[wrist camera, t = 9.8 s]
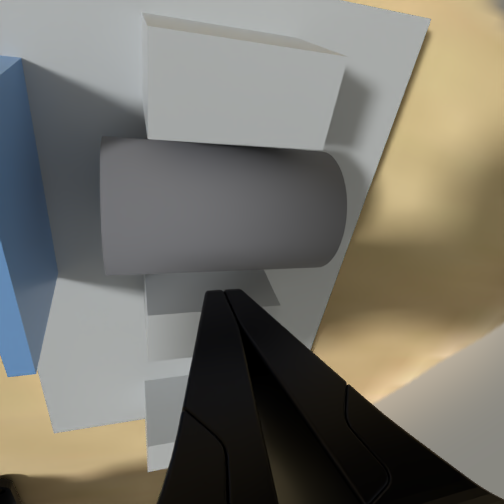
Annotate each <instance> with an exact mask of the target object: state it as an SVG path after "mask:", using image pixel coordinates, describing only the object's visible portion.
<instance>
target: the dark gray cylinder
mask: <svg viewBox="0 0 504 504" xmlns="http://www.w3.org/2000/svg"><path fill="white" fill-rule="evenodd" d="M100 211H101V233H102V249H103V260H104V268H105V273H106V276H110V275H136V274H162V273H188V272H214V271H240V270H266V269H292V268H317V267H323V266H325V265H326V264H328V263H329V262H330V261H331V260H332V259H333V257H334V256H335V254H336V253H337V251H338V249H339V246H340V244H341V241H342V238H343V235H344V230H345V225H346V218H347V193H346V186H345V182H344V177H343V174H342V171H341V169H340V167H339V165H338V163H337V162H336V160H335V159H334V158H333V157H332V156H331V155H330V154H328V153H326V152H322V151H308V150H294V149H280V148H266V147H252V146H238V145H224V144H210V143H196V142H181V141H167V140H152V139H139V138H125V137H111V136H102V138H101V147H100Z"/></svg>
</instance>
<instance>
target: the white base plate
mask: <svg viewBox="0 0 504 504" xmlns="http://www.w3.org/2000/svg"><path fill="white" fill-rule="evenodd" d="M430 21H431V19H429V18H424V17H419V16H414V15H409V14H405V13H400V12H395V11H390V10H385V9H380V8H376V7H371V6H366V5H361V4H356V3H351V2H347V1H342V0H0V355H1V358H2V361H3V364H4V367H5V370H6V373H7V376H8V377H13V376H22V375H31V374H36V372H37V370H38V374H39V377H40V381H41V385H42V389H43V393H44V397H45V401H46V404H47V408H48V412H49V416H50V420H51V424H52V428H53V431H54V433H59V432H65V431H71V430H78V429H84V428H90V427H96V426H103V425H109V424H115V423H121V422H128V421H134V420H140V419H145V425H146V446H147V467H148V472H151V471H156V470H161V469H166V468H168V466H169V463H170V460H171V456H172V452H173V447H174V443H175V439H176V435H177V430H178V425H179V420H180V415H181V412H182V406H183V401H184V396H185V391H186V386H187V381H188V376H189V371H190V366H191V361H192V356H193V351H194V346H195V341H196V336H197V331H198V325H199V320H200V315H201V310H202V305H203V300H204V295H205V292H206V291H208V290H222V291H224V290H225V289H241V290H243V291H244V292H245V293H246V294H247V295H249V296H250V297H251V298H252V299H253V300H254V301H255V302H256V303H258V304H259V305H260V306H261V307H262V308H263V309H264V310H265V311H267V312H268V313H269V314H270V315H271V316H272V317H273V318H275V319H276V320H277V321H278V322H279V323H280V324H281V325H282V326H284V327H285V328H286V329H287V330H288V331H289V332H290V333H291V334H293V335H294V336H295V337H296V338H297V339H298V340H299V341H301V342H302V343H303V344H304V345H305V346H306V347H307V348H308V349H311V347H312V344H313V341H314V338H315V336H316V333H317V330H318V327H319V325H320V322H321V319H322V317H323V314H324V311H325V308H326V306H327V303H328V300H329V297H330V295H331V292H332V289H333V286H334V284H335V281H336V278H337V275H338V273H339V270H340V267H341V265H342V262H343V259H344V256H345V254H346V251H347V248H348V245H349V243H350V240H351V237H352V234H353V232H354V229H355V226H356V223H357V221H358V218H359V215H360V213H361V210H362V207H363V204H364V202H365V199H366V196H367V193H368V191H369V188H370V185H371V182H372V180H373V177H374V174H375V171H376V169H377V166H378V163H379V161H380V158H381V155H382V152H383V150H384V147H385V144H386V141H387V139H388V136H389V133H390V130H391V128H392V125H393V122H394V119H395V117H396V114H397V111H398V108H399V106H400V103H401V100H402V98H403V95H404V92H405V89H406V87H407V84H408V81H409V78H410V76H411V73H412V70H413V67H414V65H415V62H416V59H417V56H418V54H419V51H420V48H421V46H422V43H423V40H424V37H425V35H426V32H427V29H428V26H429V24H430ZM102 136H111V137H125V138H139V139H152V140H167V141H181V142H196V143H210V144H224V145H238V146H252V147H266V148H280V149H294V150H308V151H322V152H326V153H328V154H330V155H331V156H332V157H333V158H334V159H335V160H336V162H337V163H338V165H339V167H340V169H341V171H342V174H343V177H344V182H345V186H346V193H347V218H346V225H345V230H344V235H343V238H342V241H341V244H340V246H339V249H338V251H337V253H336V254H335V256H334V257H333V259H332V260H331V261H330V262H329V263H328V264H326V265H325V266H323V267H317V268H292V269H266V270H240V271H214V272H188V273H162V274H136V275H110V276H106V273H105V268H104V260H103V249H102V233H101V211H100V147H101V138H102Z"/></svg>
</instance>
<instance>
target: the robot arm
mask: <svg viewBox="0 0 504 504" xmlns="http://www.w3.org/2000/svg"><path fill="white" fill-rule="evenodd" d="M0 504H22V503H21V501H20V498H19V496H18V494H17V491H16V489H15V487H14V484H13V482H12V481H11V480H9V479H0ZM156 504H504V499H502V498H500V497H498V496H496V495H494V494H492V493H490V492H489V491H487V490H485V489H484V488H482V487H481V486H479V485H478V484H476V483H475V482H473V481H472V480H470V479H469V478H468V477H466V476H465V475H464V474H462V473H461V472H460V471H458V470H457V469H456V468H454V467H453V466H451V465H450V464H449V463H448V462H446V461H445V460H443V459H442V458H440V457H439V456H438V455H437V454H435V453H434V452H433V451H431V450H430V449H429V448H427V447H426V446H425V445H423V444H422V443H420V442H419V441H418V440H417V439H415V438H414V437H413V436H411V435H410V434H409V433H407V432H406V431H405V430H404V429H402V428H401V427H400V426H398V425H397V424H396V423H394V422H393V421H392V420H391V419H389V418H388V417H387V416H386V415H384V414H383V413H382V412H381V411H379V410H378V409H377V408H376V407H375V406H374V405H372V404H371V403H370V402H369V401H368V400H366V399H365V398H364V397H363V396H362V395H361V394H360V393H358V392H357V391H356V390H355V389H354V388H353V387H352V386H350V385H347V383H346V381H345V380H344V379H342V378H341V377H340V376H339V375H338V374H337V373H336V372H334V371H333V370H332V369H331V368H330V367H329V366H328V365H327V364H325V363H324V362H323V361H322V360H321V359H320V358H319V357H318V356H316V355H315V354H314V353H313V352H312V351H311V350H310V349H308V348H307V347H306V346H305V345H304V344H303V343H302V342H301V341H299V340H298V339H297V338H296V337H295V336H294V335H293V334H291V333H290V332H289V331H288V330H287V329H286V328H285V327H284V326H282V325H281V324H280V323H279V322H278V321H277V320H276V319H275V318H273V317H272V316H271V315H270V314H269V313H268V312H267V311H265V310H264V309H263V308H262V307H261V306H260V305H259V304H258V303H256V302H255V301H254V300H253V299H252V298H251V297H250V296H249V295H247V294H246V293H245V292H244V291H243V290H241V289H225V290H224V291H222V290H208V291H206V292H205V295H204V300H203V305H202V310H201V315H200V320H199V325H198V331H197V336H196V341H195V346H194V351H193V356H192V361H191V366H190V371H189V376H188V381H187V386H186V391H185V396H184V401H183V406H182V412H181V415H180V420H179V425H178V430H177V435H176V439H175V443H174V447H173V452H172V456H171V460H170V463H169V466H168V469H167V472H166V476H165V479H164V482H163V485H162V489H161V492H160V494H159V497H158V500H157V503H156Z"/></svg>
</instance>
